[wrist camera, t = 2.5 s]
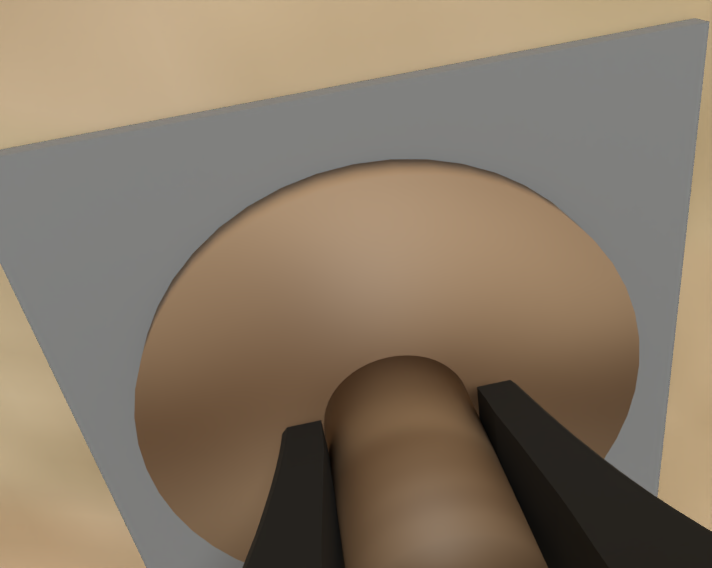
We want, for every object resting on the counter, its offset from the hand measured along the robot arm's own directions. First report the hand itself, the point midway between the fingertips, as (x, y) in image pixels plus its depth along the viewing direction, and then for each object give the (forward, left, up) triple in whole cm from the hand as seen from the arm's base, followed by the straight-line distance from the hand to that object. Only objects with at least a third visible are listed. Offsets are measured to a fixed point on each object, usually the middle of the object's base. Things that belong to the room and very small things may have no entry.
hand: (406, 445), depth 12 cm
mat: (0, 0, -2) cm, 2 cm away
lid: (0, 0, -2) cm, 2 cm away
